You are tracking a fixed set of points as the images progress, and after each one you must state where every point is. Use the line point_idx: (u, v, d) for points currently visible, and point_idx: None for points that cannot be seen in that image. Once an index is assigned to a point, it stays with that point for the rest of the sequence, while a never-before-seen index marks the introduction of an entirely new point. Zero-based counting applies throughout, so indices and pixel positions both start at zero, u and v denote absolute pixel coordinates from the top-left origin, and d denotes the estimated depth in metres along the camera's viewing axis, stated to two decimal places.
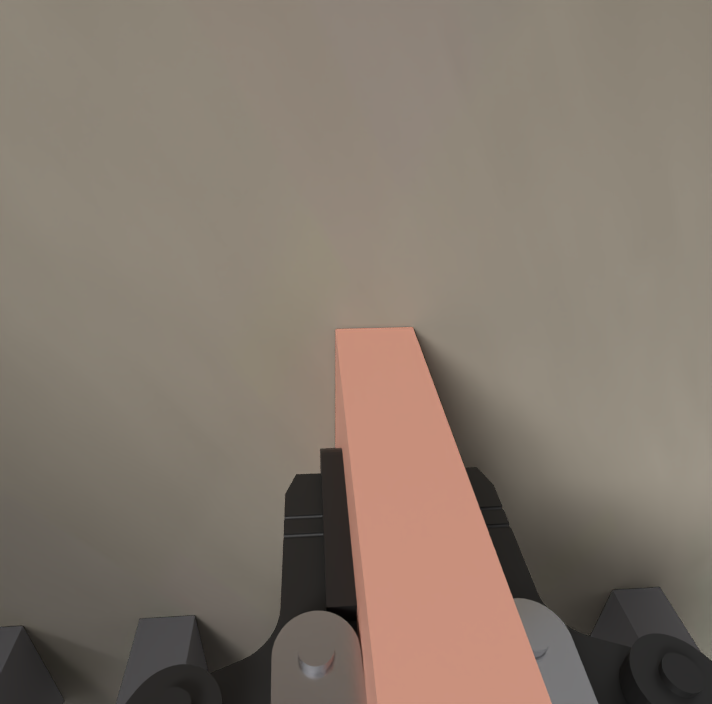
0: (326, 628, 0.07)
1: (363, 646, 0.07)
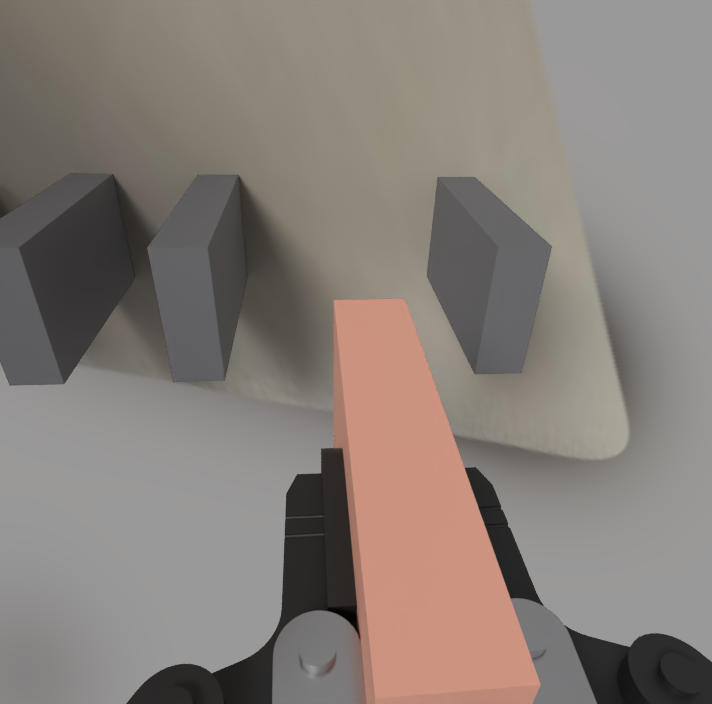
0: (327, 628, 0.07)
1: (354, 561, 0.08)
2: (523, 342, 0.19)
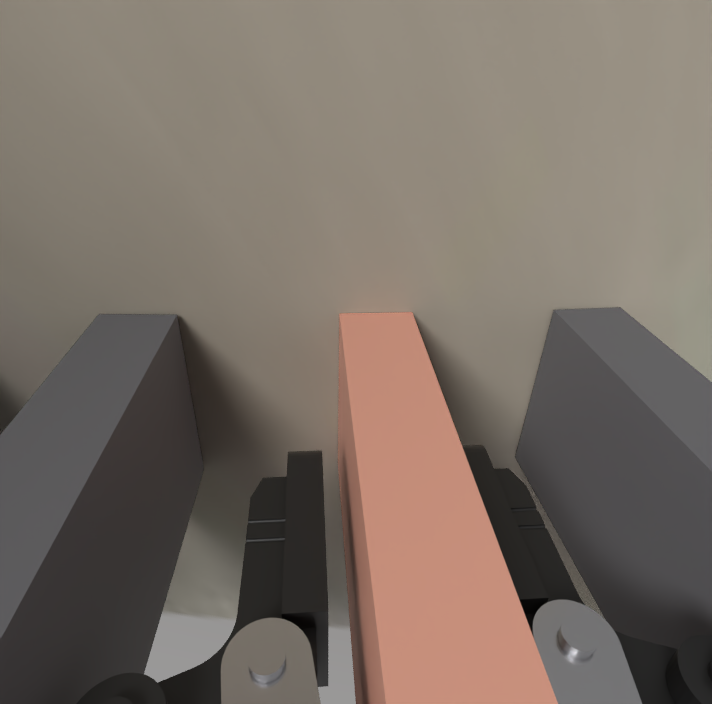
0: (279, 635, 0.07)
1: (364, 590, 0.08)
2: None
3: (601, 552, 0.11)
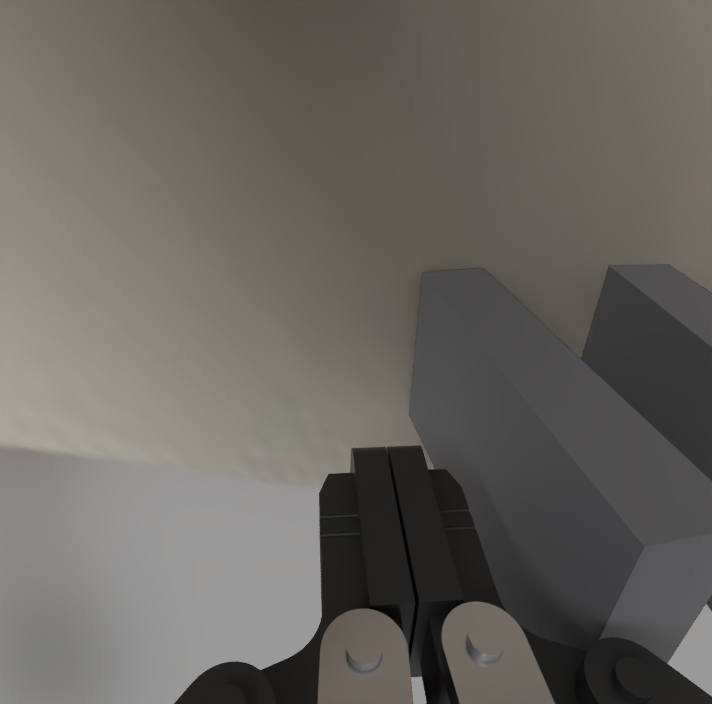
0: (372, 627, 0.07)
1: None
2: None
3: None
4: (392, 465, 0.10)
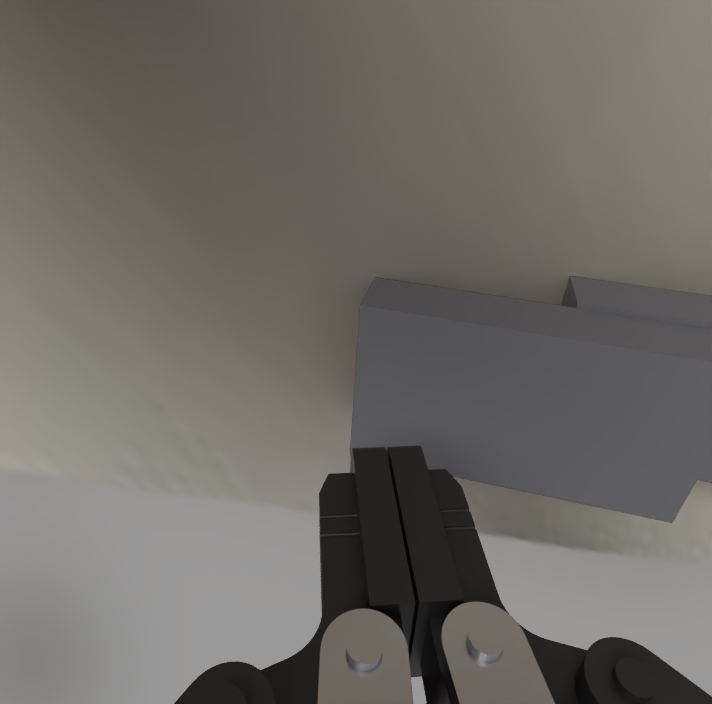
0: (372, 626, 0.07)
1: None
2: None
3: None
4: (392, 465, 0.10)
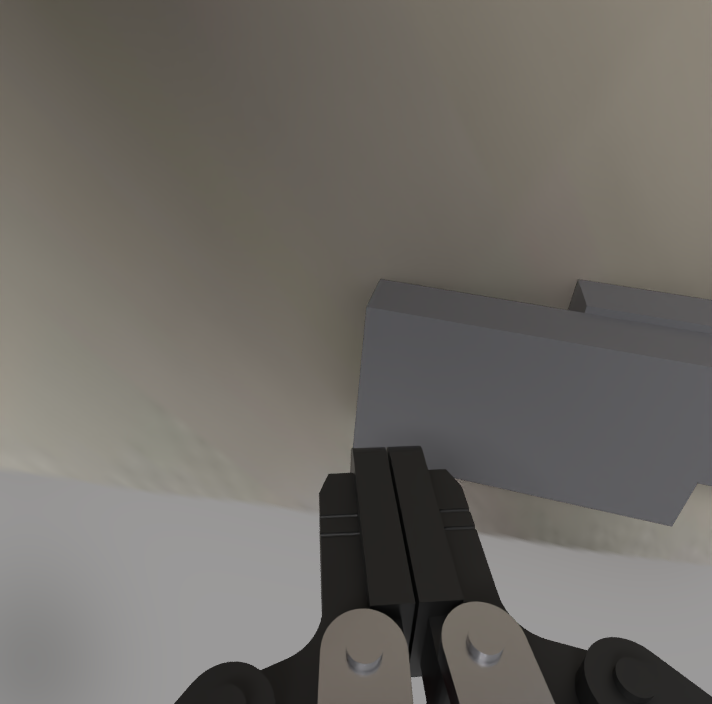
0: (372, 626, 0.07)
1: None
2: None
3: None
4: (392, 465, 0.10)
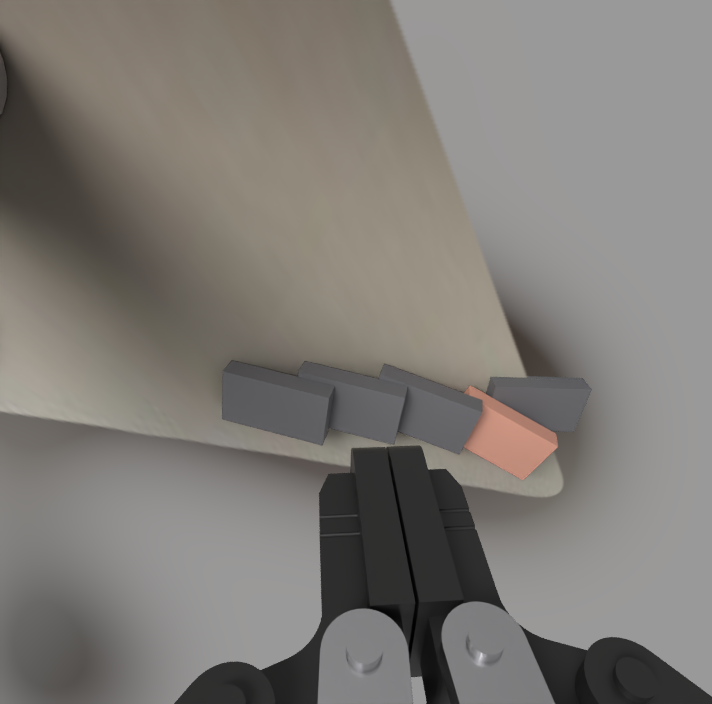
0: (372, 626, 0.07)
1: (528, 441, 0.45)
2: None
3: None
4: (392, 465, 0.10)
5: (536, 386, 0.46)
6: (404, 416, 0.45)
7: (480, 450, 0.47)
